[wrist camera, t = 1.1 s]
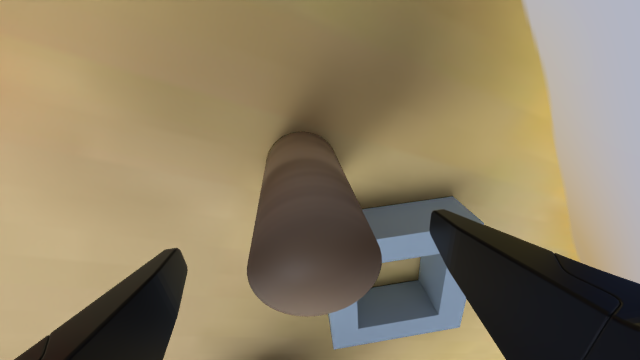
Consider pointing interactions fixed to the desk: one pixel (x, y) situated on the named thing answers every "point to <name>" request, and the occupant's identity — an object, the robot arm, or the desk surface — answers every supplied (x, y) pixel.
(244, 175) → the desk surface
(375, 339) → the socket
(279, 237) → the peg
